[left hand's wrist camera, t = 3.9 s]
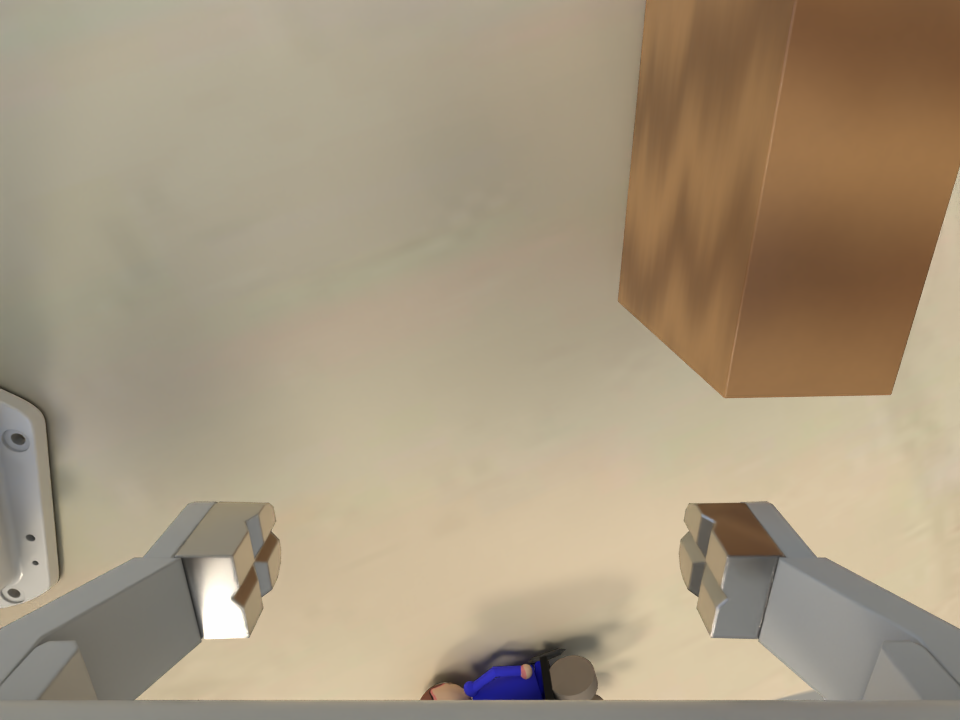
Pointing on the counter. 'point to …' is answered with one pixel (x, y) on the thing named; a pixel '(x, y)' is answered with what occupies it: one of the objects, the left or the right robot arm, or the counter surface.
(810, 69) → the box
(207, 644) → the counter surface
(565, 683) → the figurine character
